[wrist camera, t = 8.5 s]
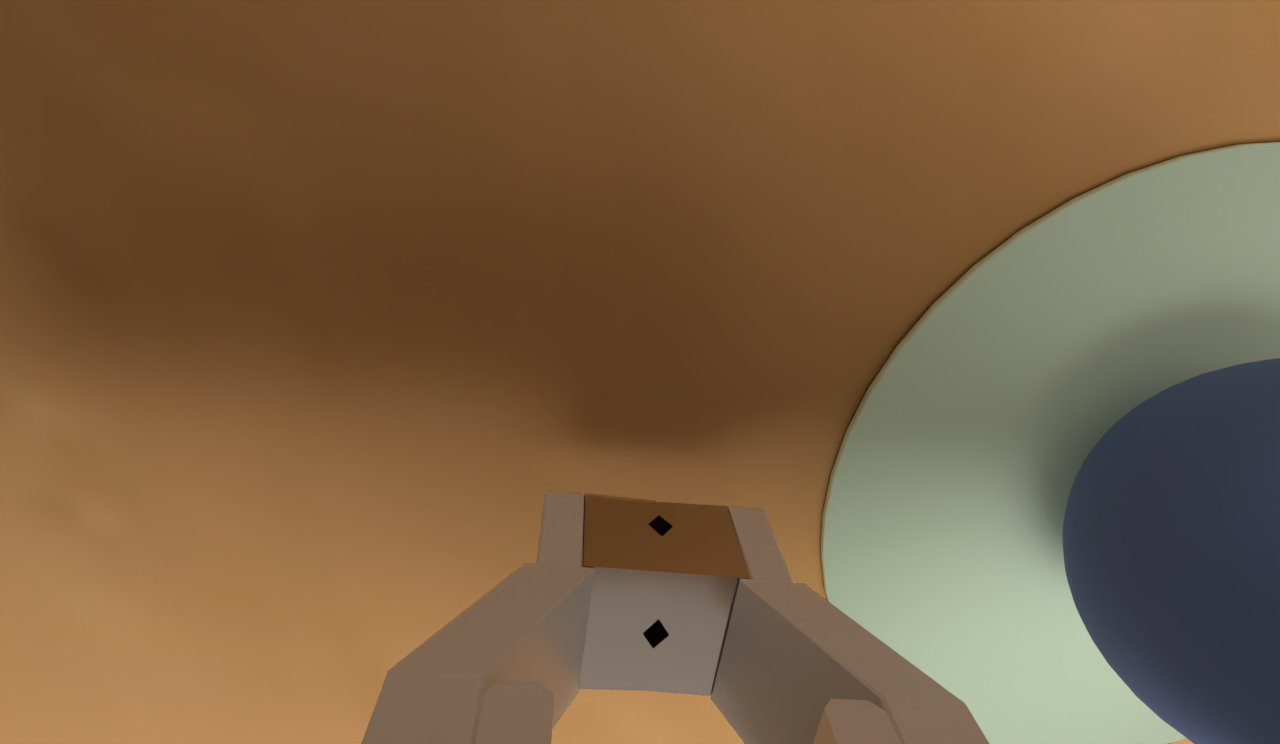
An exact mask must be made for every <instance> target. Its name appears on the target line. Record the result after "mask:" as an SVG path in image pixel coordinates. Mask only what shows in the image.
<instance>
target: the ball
mask: <svg viewBox="0 0 1280 744" xmlns="http://www.w3.org/2000/svg"><path fill="white" fill-rule="evenodd" d="M1063 554H1064V564H1065V572H1066V576H1067V581H1068V584H1069V587H1070V590H1071V594H1072V597H1073V600H1074V603H1075V606H1076V608H1077V611H1078V613H1079V615H1080V617H1081V619H1082V621H1083V623H1084V625H1085V627H1086V629H1087V631H1088V633H1089V635H1090V637H1091V638H1092V640H1093V642H1094V644H1095V645H1096V646H1097V648H1098V649H1099V651H1100V652H1101V654H1102V655H1103V657H1104V658H1105V660H1106V661H1107V663H1108V664H1109V665H1110V667H1111V668H1112V669H1113V670H1114V671H1115V672H1116V674H1117V675H1118V676H1119V677H1120V678H1121V679H1122V680H1123V682H1124V683H1125V684H1126V685H1127V686H1128V687H1129V688H1130V690H1131V691H1132V692H1133V693H1134V694H1135V695H1136V696H1137V697H1138V698H1139V699H1140V700H1141V701H1142V702H1143V703H1144V704H1145V705H1146V706H1147V707H1149V708H1150V709H1151V710H1152V711H1153V712H1154V713H1155V714H1156V715H1157V716H1158V717H1159V718H1161V719H1162V720H1163V721H1165V722H1166V723H1167V724H1169V725H1170V726H1171V727H1173V728H1174V729H1175V730H1177V731H1178V732H1179V733H1181V734H1182V735H1183V736H1185V737H1186V738H1187V739H1189V740H1190V741H1192V742H1193V743H1195V744H1280V358H1275V359H1268V360H1262V361H1256V362H1249V363H1243V364H1238V365H1234V366H1230V367H1226V368H1222V369H1219V370H1215V371H1211V372H1208V373H1204V374H1200V375H1198V376H1195V377H1193V378H1190V379H1188V380H1185V381H1183V382H1180V383H1178V384H1176V385H1173V386H1171V387H1169V388H1167V389H1165V390H1163V391H1161V392H1159V393H1158V394H1156V395H1154V396H1153V397H1151V398H1149V399H1147V400H1146V401H1144V402H1142V403H1141V404H1139V405H1138V406H1136V407H1135V408H1134V409H1132V410H1131V411H1130V412H1129V413H1127V414H1126V415H1125V416H1124V417H1122V418H1121V419H1120V420H1119V421H1118V422H1116V423H1115V424H1114V425H1113V426H1112V427H1111V428H1110V429H1109V430H1108V431H1107V432H1106V433H1105V434H1104V436H1103V437H1102V438H1101V439H1100V440H1099V442H1098V443H1097V444H1096V445H1095V447H1094V448H1093V449H1092V450H1091V452H1090V453H1089V455H1088V456H1087V457H1086V459H1085V461H1084V462H1083V464H1082V466H1081V468H1080V470H1079V472H1078V474H1077V476H1076V478H1075V480H1074V483H1073V485H1072V488H1071V491H1070V494H1069V497H1068V501H1067V505H1066V510H1065V515H1064V522H1063Z"/></svg>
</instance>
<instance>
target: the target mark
mask: <svg viewBox="0 0 1280 744" xmlns="http://www.w3.org/2000/svg"><path fill="white" fill-rule="evenodd" d="M1275 358H1280V142H1265V143H1250V144H1237V145H1232V146H1227V147H1222V148H1217V149H1212V150H1207V151H1202V152H1197V153H1192V154H1187V155H1182V156H1179V157H1176V158H1173V159H1170V160H1167V161H1164V162H1161V163H1158V164H1155V165H1152V166H1149V167H1146V168H1143V169H1139V170H1136V171H1133V172H1130V173H1127V174H1125V175H1123V176H1120V177H1118V178H1116V179H1114V180H1112V181H1110V182H1108V183H1105V184H1103V185H1101V186H1099V187H1097V188H1095V189H1092V190H1090V191H1088V192H1086V193H1084V194H1082V195H1079V196H1077V197H1075V198H1073V199H1071V200H1069V201H1068V202H1066V203H1064V204H1063V205H1061V206H1059V207H1058V208H1056V209H1054V210H1053V211H1051V212H1049V213H1048V214H1046V215H1044V216H1043V217H1041V218H1039V219H1038V220H1036V221H1034V222H1033V223H1031V224H1030V225H1028V226H1026V227H1025V228H1023V229H1021V230H1020V231H1018V232H1017V233H1016V234H1014V235H1013V236H1012V237H1010V238H1009V239H1008V240H1007V241H1005V242H1004V243H1003V244H1001V245H1000V246H999V247H997V248H996V249H995V250H993V251H992V252H991V253H989V254H988V255H987V256H985V257H984V258H983V259H982V260H980V261H979V262H978V263H976V264H975V265H974V266H972V267H971V268H970V269H969V270H968V271H967V272H966V273H965V274H964V275H963V276H962V277H961V278H960V279H959V280H958V281H957V282H956V283H954V284H953V285H952V286H951V287H950V288H949V289H948V290H947V291H946V292H945V293H944V294H943V295H942V296H941V297H940V298H939V299H938V300H936V301H935V302H934V303H933V304H932V305H931V306H930V308H929V309H928V310H927V311H926V312H925V313H924V315H923V316H922V317H921V318H920V319H919V320H918V322H917V323H916V324H915V325H914V326H913V328H912V329H911V330H910V331H909V332H908V333H907V335H906V336H905V337H904V338H903V339H902V340H901V342H900V343H899V344H898V345H897V346H896V348H895V349H894V351H893V352H892V354H891V355H890V357H889V358H888V360H887V361H886V363H885V364H884V366H883V367H882V369H881V370H880V372H879V373H878V375H877V376H876V378H875V379H874V380H873V382H872V383H871V385H870V386H869V388H868V390H867V392H866V393H865V395H864V397H863V399H862V401H861V403H860V405H859V407H858V409H857V411H856V413H855V415H854V417H853V419H852V421H851V423H850V425H849V427H848V429H847V431H846V433H845V436H844V439H843V441H842V444H841V447H840V450H839V452H838V455H837V458H836V461H835V464H834V466H833V469H832V472H831V476H830V481H829V485H828V490H827V495H826V500H825V504H824V509H823V514H822V532H821V549H820V553H821V563H822V573H823V583H824V589H825V593H826V596H827V600H828V602H830V603H831V604H832V605H834V606H835V607H836V608H838V609H839V610H840V611H842V612H843V613H844V614H846V615H847V616H849V617H850V618H851V619H853V620H854V621H855V622H857V623H858V624H859V625H861V626H862V627H863V628H865V629H866V630H867V631H869V632H870V633H871V634H873V635H874V636H875V637H877V638H878V639H879V640H881V641H882V642H883V643H885V644H886V645H887V646H889V647H890V648H891V649H893V650H894V651H895V652H897V653H898V654H899V655H901V656H902V657H903V658H905V659H906V660H908V661H909V662H910V663H912V664H913V665H914V666H916V667H917V668H918V669H920V670H921V671H922V672H924V673H925V674H926V675H928V676H929V677H930V678H932V679H933V680H934V681H936V682H937V683H938V684H940V685H941V686H942V687H944V688H945V689H946V690H948V691H949V692H950V693H952V694H953V695H954V696H956V697H957V698H958V699H960V700H961V701H962V702H964V703H965V704H966V706H967V707H968V709H969V710H970V712H971V714H972V715H973V717H974V719H975V720H976V722H977V724H978V725H979V727H980V729H981V730H982V732H983V734H984V735H985V737H986V739H987V740H988V742H989V744H1167V743H1171V742H1175V741H1178V740H1182V739H1186V737H1185V736H1183V735H1182V734H1181V733H1179V732H1178V731H1177V730H1175V729H1174V728H1173V727H1171V726H1170V725H1169V724H1167V723H1166V722H1165V721H1163V720H1162V719H1161V718H1159V717H1158V716H1157V715H1156V714H1155V713H1154V712H1153V711H1152V710H1151V709H1150V708H1149V707H1147V706H1146V705H1145V704H1144V703H1143V702H1142V701H1141V700H1140V699H1139V698H1138V697H1137V696H1136V695H1135V694H1134V693H1133V692H1132V691H1131V690H1130V688H1129V687H1128V686H1127V685H1126V684H1125V683H1124V682H1123V680H1122V679H1121V678H1120V677H1119V676H1118V675H1117V674H1116V672H1115V671H1114V670H1113V669H1112V668H1111V667H1110V665H1109V664H1108V663H1107V661H1106V660H1105V658H1104V657H1103V655H1102V654H1101V652H1100V651H1099V649H1098V648H1097V646H1096V645H1095V644H1094V642H1093V640H1092V638H1091V637H1090V635H1089V633H1088V631H1087V629H1086V627H1085V625H1084V623H1083V621H1082V619H1081V617H1080V615H1079V613H1078V611H1077V608H1076V606H1075V603H1074V600H1073V597H1072V594H1071V590H1070V587H1069V584H1068V581H1067V576H1066V572H1065V564H1064V554H1063V522H1064V515H1065V510H1066V505H1067V501H1068V497H1069V494H1070V491H1071V488H1072V485H1073V483H1074V480H1075V478H1076V476H1077V474H1078V472H1079V470H1080V468H1081V466H1082V464H1083V462H1084V461H1085V459H1086V457H1087V456H1088V455H1089V453H1090V452H1091V450H1092V449H1093V448H1094V447H1095V445H1096V444H1097V443H1098V442H1099V440H1100V439H1101V438H1102V437H1103V436H1104V434H1105V433H1106V432H1107V431H1108V430H1109V429H1110V428H1111V427H1112V426H1113V425H1114V424H1115V423H1116V422H1118V421H1119V420H1120V419H1121V418H1122V417H1124V416H1125V415H1126V414H1127V413H1129V412H1130V411H1131V410H1132V409H1134V408H1135V407H1136V406H1138V405H1139V404H1141V403H1142V402H1144V401H1146V400H1147V399H1149V398H1151V397H1153V396H1154V395H1156V394H1158V393H1159V392H1161V391H1163V390H1165V389H1167V388H1169V387H1171V386H1173V385H1176V384H1178V383H1180V382H1183V381H1185V380H1188V379H1190V378H1193V377H1195V376H1198V375H1200V374H1204V373H1208V372H1211V371H1215V370H1219V369H1222V368H1226V367H1230V366H1234V365H1238V364H1243V363H1249V362H1256V361H1262V360H1268V359H1275Z"/></svg>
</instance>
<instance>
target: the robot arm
mask: <svg viewBox="0 0 1280 744" xmlns="http://www.w3.org/2000/svg"><path fill="white" fill-rule="evenodd" d="M579 689H610V690H646V691H658V692H670V693H682V694H694V695H706V696H712V697H711V700H712V701H713V702H714V704H715V705H716V706H717V708H718V709H719V710H720V711H721V713H722V714H723V715H724V717H725V718H726V719H727V721H728V722H729V723H730V724H731V726H732V727H733V728H734V730H735V731H736V732H737V734H738V735H739V736H740V738H741V739H742V740H743V741H744V743H745V744H989V742H988V740H987V739H986V737H985V735H984V734H983V732H982V730H981V729H980V727H979V725H978V724H977V722H976V720H975V719H974V717H973V715H972V714H971V712H970V710H969V709H968V707H967V706H966V704H965V703H964V702H962V701H961V700H960V699H958V698H957V697H956V696H954V695H953V694H952V693H950V692H949V691H948V690H946V689H945V688H944V687H942V686H941V685H940V684H938V683H937V682H936V681H934V680H933V679H932V678H930V677H929V676H928V675H926V674H925V673H924V672H922V671H921V670H920V669H918V668H917V667H916V666H914V665H913V664H912V663H910V662H909V661H908V660H906V659H905V658H903V657H902V656H901V655H899V654H898V653H897V652H895V651H894V650H893V649H891V648H890V647H889V646H887V645H886V644H885V643H883V642H882V641H881V640H879V639H878V638H877V637H875V636H874V635H873V634H871V633H870V632H869V631H867V630H866V629H865V628H863V627H862V626H861V625H859V624H858V623H857V622H855V621H854V620H853V619H851V618H850V617H849V616H847V615H846V614H844V613H843V612H842V611H840V610H839V609H838V608H836V607H835V606H834V605H832V604H831V603H830V602H828V601H827V600H826V599H824V598H823V597H822V596H820V595H819V594H818V593H816V592H815V591H814V590H812V589H811V588H810V587H808V586H807V585H806V584H804V583H794V582H793V580H792V577H791V575H790V573H789V570H788V568H787V565H786V563H785V561H784V558H783V556H782V553H781V551H780V549H779V546H778V544H777V541H776V539H775V537H774V534H773V532H772V529H771V527H770V525H769V522H768V520H767V517H766V515H765V513H764V511H763V510H762V509H760V508H759V507H741V506H717V505H700V504H684V503H667V502H656V501H654V500H644V499H635V498H625V497H616V496H606V495H597V494H587V493H584V495H583V493H581V492H568V491H554V490H547V491H546V494H545V499H544V506H543V514H542V522H541V530H540V538H539V545H538V553H537V561H536V564H533V563H525V564H523V565H522V566H521V567H519V568H518V569H517V570H516V571H514V572H513V573H512V574H511V575H509V576H508V577H507V578H505V579H504V580H503V581H502V582H500V583H499V584H498V585H497V586H495V587H494V588H493V589H491V590H490V591H489V592H488V593H486V594H485V595H484V596H483V597H481V598H480V599H479V600H477V601H476V602H475V603H474V604H472V605H471V606H470V607H469V608H467V609H466V610H465V611H463V612H462V613H461V614H460V615H458V616H457V617H456V618H455V619H453V620H452V621H451V622H449V623H448V624H447V625H446V626H444V627H443V628H442V629H441V630H439V631H438V632H437V633H435V634H434V635H433V636H432V637H430V638H429V639H428V640H427V641H425V642H424V643H423V644H421V645H420V646H419V647H418V648H416V649H415V650H414V651H413V652H411V653H410V654H409V655H407V656H406V657H405V658H404V659H402V660H401V661H400V662H399V663H397V664H396V665H395V666H393V667H392V668H391V669H390V670H388V673H387V676H386V678H385V681H384V684H383V686H382V689H381V692H380V695H379V697H378V700H377V703H376V705H375V708H374V711H373V714H372V716H371V719H370V722H369V724H368V727H367V730H366V733H365V735H364V738H363V741H362V743H361V744H551V737H552V729H553V727H554V726H555V724H556V723H557V722H558V720H559V719H560V717H561V716H562V715H563V713H564V712H565V710H566V709H567V708H568V706H569V705H570V703H571V702H572V701H573V699H574V698H575V696H576V695H577V694H578V690H579Z"/></svg>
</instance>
